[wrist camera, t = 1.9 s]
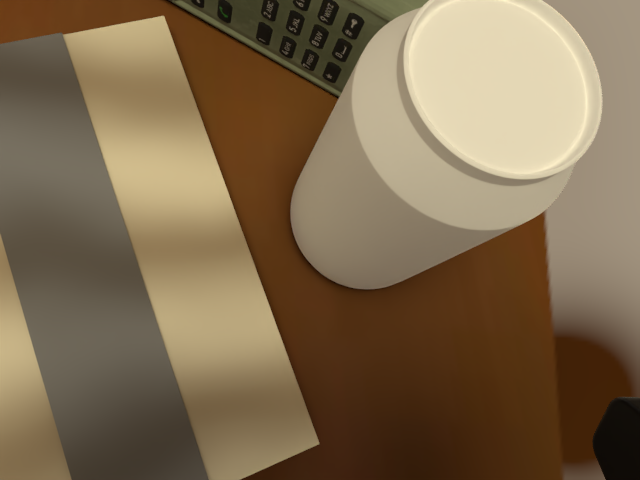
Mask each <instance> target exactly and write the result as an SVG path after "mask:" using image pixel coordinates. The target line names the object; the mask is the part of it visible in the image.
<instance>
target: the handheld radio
mask: <svg viewBox="0 0 640 480" xmlns="http://www.w3.org/2000/svg"><path fill="white" fill-rule="evenodd" d="M169 1H171V2H172V3H174V4H176V5H178V6H179V7H181V8H183V9H185V10H186V11H188V12H190V13H192V14H193V15H195V16H197V17H199V18H200V19H202V20H204V21H206V22H207V23H209V24H211V25H213V26H214V27H216V28H218V29H220V30H221V31H223V32H225V33H227V34H228V35H230V36H232V37H234V38H235V39H237V40H239V41H241V42H242V43H244V44H246V45H248V46H249V47H251V48H253V49H255V50H256V51H258V52H260V53H262V54H263V55H265V56H267V57H269V58H270V59H272V60H274V61H276V62H277V63H279V64H281V65H283V66H284V67H286V68H288V69H290V70H291V71H293V72H295V73H297V74H298V75H300V76H302V77H304V78H305V79H307V80H309V81H311V82H312V83H314V84H316V85H318V86H319V87H321V88H323V89H325V90H326V91H328V92H330V93H332V94H333V95H335V96H337V97H340V95H341V93H342V91H343V89H344V87H345V85H346V83H347V81H348V80H349V78H350V76H351V74H352V72H353V70H354V68H355V66H356V64H357V62H358V60H359V58H360V56H361V54H362V52H363V51H364V49H365V47H366V46H367V44H368V43H369V42H370V40H371V39H372V38H373V37H374V35H375V34H376V33H377V32H378V31H379V30H380V29H381V28H383V27H384V26H385V25H386V24H388V23H389V22H390V21H392V20H393V19H395V18H397V17H399V16H401V15H403V14H405V13H407V12H410V11H412V10H415V9H418V8H421V7H423V5H424V4H425V3H426V2H428V1H429V0H169Z"/></svg>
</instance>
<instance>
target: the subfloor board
mask: <svg viewBox="0 0 640 480" xmlns="http://www.w3.org/2000/svg"><path fill="white" fill-rule="evenodd" d="M318 444H319V441H318V438H317V435H316V433H315V430H314V427H313V424H312V422H311V419H310V416H309V413H308V411H307V408H306V405H305V402H304V400H303V397H302V394H301V391H300V389H299V386H298V383H297V380H296V378H295V375H294V372H293V369H292V367H291V364H290V361H289V358H288V356H287V353H286V350H285V347H284V345H283V342H282V339H281V336H280V334H279V331H278V328H277V325H276V323H275V320H274V317H273V314H272V312H271V309H270V306H269V303H268V301H267V298H266V295H265V292H264V290H263V287H262V284H261V281H260V279H259V276H258V273H257V270H256V268H255V265H254V262H253V259H252V257H251V254H250V251H249V248H248V246H247V243H246V240H245V237H244V235H243V232H242V229H241V226H240V224H239V221H238V218H237V215H236V213H235V210H234V207H233V204H232V202H231V199H230V196H229V193H228V191H227V188H226V185H225V182H224V180H223V177H222V174H221V171H220V169H219V166H218V163H217V160H216V158H215V155H214V152H213V149H212V147H211V144H210V141H209V138H208V136H207V133H206V130H205V127H204V125H203V122H202V119H201V116H200V114H199V111H198V108H197V105H196V103H195V100H194V97H193V94H192V92H191V89H190V86H189V83H188V81H187V78H186V75H185V72H184V70H183V67H182V64H181V61H180V59H179V56H178V53H177V50H176V48H175V45H174V42H173V39H172V37H171V34H170V31H169V28H168V26H167V23H166V20H165V17H164V16H160V17H155V18H150V19H144V20H139V21H134V22H129V23H123V24H118V25H113V26H108V27H102V28H97V29H92V30H87V31H81V32H76V33H71V34H65V35H62V33H57V34H52V35H46V36H41V37H36V38H30V39H25V40H20V41H14V42H9V43H4V44H0V480H240V479H243V478H245V477H247V476H249V475H252V474H254V473H256V472H258V471H260V470H263V469H265V468H267V467H269V466H272V465H274V464H276V463H278V462H280V461H283V460H285V459H287V458H289V457H292V456H294V455H296V454H298V453H300V452H303V451H305V450H307V449H309V448H312V447H314V446H316V445H318Z"/></svg>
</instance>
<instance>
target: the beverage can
mask: <svg viewBox="0 0 640 480" xmlns="http://www.w3.org/2000/svg"><path fill="white" fill-rule="evenodd" d="M601 115H602V89H601V83H600V78H599V74H598V71H597V68H596V65H595V63H594V60H593V58H592V56H591V54H590V52H589V50H588V48H587V46H586V44H585V43H584V41H583V40H582V38H581V37H580V35H579V34H578V33H577V31H576V30H575V29H574V28H573V27H572V25H571V24H570V23H569V22H568V21H567V20H566V19H565V18H564V17H563V16H562V15H561V14H560V13H559V12H557V11H556V10H555V9H554V8H552V7H551V6H550V5H548V4H547V3H545V2H544V1H542V0H429V1H428V2H426V3H425V4H424V5H423V7H421V8H418V9H415V10H412V11H410V12H407V13H405V14H403V15H401V16H399V17H397V18H395V19H393V20H392V21H390V22H389V23H388V24H386V25H385V26H384V27H383V28H381V29H380V30H379V31H378V32H377V33H376V34H375V35H374V37H373V38H372V39H371V40H370V42H369V43H368V44H367V46H366V47H365V49H364V51H363V52H362V54H361V56H360V58H359V60H358V62H357V64H356V66H355V68H354V70H353V72H352V74H351V76H350V78H349V80H348V81H347V83H346V85H345V87H344V89H343V91H342V93H341V95H340V97H339V99H338V101H337V103H336V105H335V107H334V109H333V111H332V113H331V115H330V117H329V119H328V121H327V123H326V125H325V127H324V129H323V130H322V132H321V134H320V136H319V138H318V140H317V142H316V144H315V146H314V148H313V150H312V152H311V154H310V156H309V158H308V160H307V162H306V164H305V166H304V168H303V170H302V172H301V174H300V176H299V178H298V181H297V183H296V186H295V188H294V191H293V195H292V199H291V208H290V218H291V226H292V230H293V234H294V237H295V240H296V242H297V244H298V246H299V248H300V250H301V252H302V253H303V255H304V256H305V258H306V259H307V260H308V262H309V263H310V264H311V265H312V266H313V267H314V268H315V269H316V270H317V271H319V272H320V273H321V274H322V275H324V276H325V277H327V278H328V279H330V280H332V281H334V282H336V283H338V284H341V285H344V286H347V287H351V288H356V289H378V288H384V287H388V286H391V285H393V284H396V283H399V282H401V281H403V280H405V279H408V278H410V277H412V276H414V275H416V274H418V273H420V272H423V271H425V270H427V269H429V268H431V267H433V266H435V265H437V264H439V263H442V262H444V261H446V260H448V259H450V258H452V257H454V256H456V255H458V254H460V253H463V252H465V251H467V250H469V249H471V248H473V247H475V246H477V245H479V244H481V243H484V242H486V241H488V240H490V239H492V238H494V237H496V236H498V235H500V234H502V233H504V232H507V231H509V230H511V229H513V228H515V227H517V226H519V225H521V224H523V223H525V222H527V221H529V220H531V219H533V218H534V217H536V216H538V215H539V214H541V213H542V212H543V211H545V210H546V209H547V208H548V207H549V206H550V205H551V204H552V203H553V202H554V201H555V200H556V199H557V198H558V196H559V195H560V194H561V192H562V191H563V189H564V188H565V186H566V184H567V182H568V180H569V178H570V176H571V174H572V171H573V168H574V166H575V163H576V161H577V160H578V159H580V158H581V157H582V155H583V154H584V153H585V152H586V151H587V149H588V148H589V147H590V145H591V143H592V142H593V140H594V138H595V136H596V133H597V131H598V128H599V124H600V120H601Z"/></svg>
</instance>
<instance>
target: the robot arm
mask: <svg viewBox="0 0 640 480" xmlns="http://www.w3.org/2000/svg"><path fill="white" fill-rule="evenodd" d="M593 449H594V453H595V455H596V458H597V460H598V462H599V465H600V467H601V469H602V472H603V474H604V477H605V479H606V480H640V398H637V397H618V398H615V399H614V400H612V401H611V402H610V404H609V406H608V407H607V410H606V412H605V413H604V415H603V417H602V420H601V421H600V423H599V425H598V427H597V429H596V431H595V433H594V436H593Z"/></svg>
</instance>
